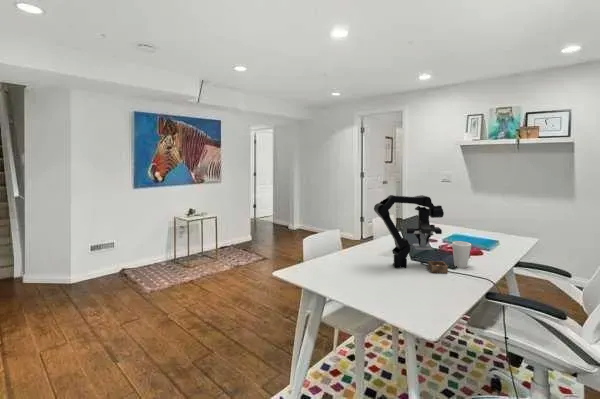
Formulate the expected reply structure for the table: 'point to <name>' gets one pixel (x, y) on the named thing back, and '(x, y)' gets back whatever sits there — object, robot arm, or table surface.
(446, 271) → the walnut box
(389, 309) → the table surface
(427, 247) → the lid
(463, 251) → the foam cup
